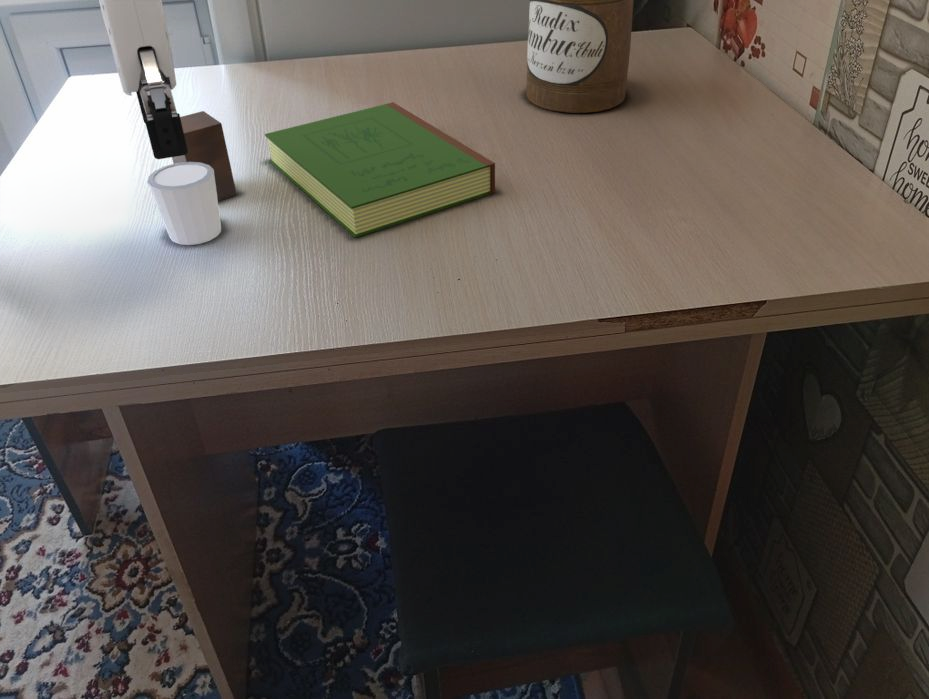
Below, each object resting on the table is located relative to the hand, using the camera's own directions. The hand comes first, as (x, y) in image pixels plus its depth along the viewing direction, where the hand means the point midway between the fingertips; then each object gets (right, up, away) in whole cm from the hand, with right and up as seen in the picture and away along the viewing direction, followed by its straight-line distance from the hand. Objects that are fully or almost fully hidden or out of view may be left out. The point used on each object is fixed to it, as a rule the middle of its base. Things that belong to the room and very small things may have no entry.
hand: (165, 138), depth 81 cm
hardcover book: (+20, 0, +18) cm, 26 cm away
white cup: (+1, -9, +7) cm, 11 cm away
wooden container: (+48, +16, +38) cm, 63 cm away
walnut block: (0, -3, +14) cm, 15 cm away
